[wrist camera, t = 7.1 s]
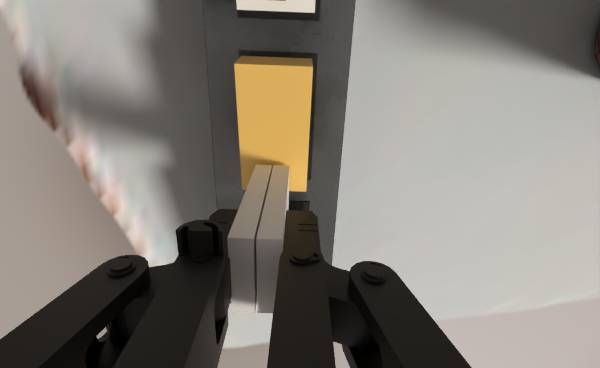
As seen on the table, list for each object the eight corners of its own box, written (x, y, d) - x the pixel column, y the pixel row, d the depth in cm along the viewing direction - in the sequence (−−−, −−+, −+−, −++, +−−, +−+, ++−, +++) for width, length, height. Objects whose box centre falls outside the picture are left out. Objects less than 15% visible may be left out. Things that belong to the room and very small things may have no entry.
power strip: (201, -350, 14) (163, -501, 10) (372, -340, 14) (399, -487, 10) (233, 266, 26) (221, 304, 22) (324, 269, 26) (328, 307, 22)
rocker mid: (241, 55, 15) (234, 64, 13) (312, 58, 15) (313, 67, 13) (247, 172, 18) (242, 190, 16) (306, 174, 18) (306, 192, 16)
